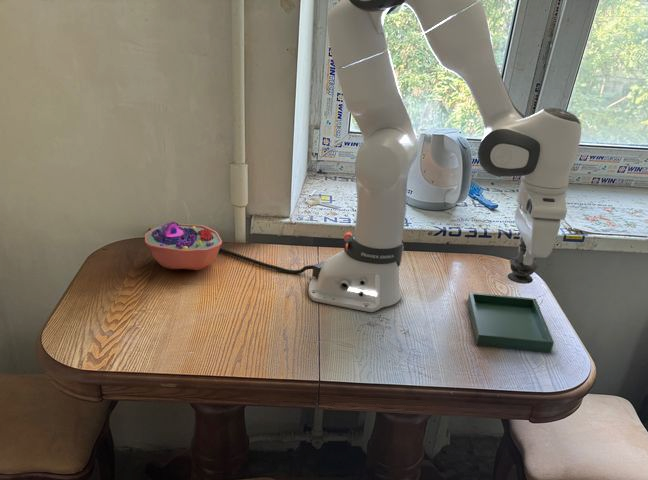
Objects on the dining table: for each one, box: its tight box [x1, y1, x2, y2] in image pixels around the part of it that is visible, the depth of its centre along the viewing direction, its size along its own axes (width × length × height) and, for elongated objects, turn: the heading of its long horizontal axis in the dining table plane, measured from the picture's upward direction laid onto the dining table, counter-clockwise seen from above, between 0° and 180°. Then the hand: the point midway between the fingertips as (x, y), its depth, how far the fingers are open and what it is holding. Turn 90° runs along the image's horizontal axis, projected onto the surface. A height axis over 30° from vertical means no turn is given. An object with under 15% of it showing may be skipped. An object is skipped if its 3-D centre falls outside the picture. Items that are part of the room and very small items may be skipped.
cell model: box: [144, 221, 223, 271], centre depth 151 cm, size 17×20×11 cm
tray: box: [466, 292, 555, 353], centre depth 135 cm, size 16×20×3 cm
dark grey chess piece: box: [507, 240, 539, 285], centre depth 127 cm, size 6×6×12 cm
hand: (524, 259), depth 127 cm, fingers closed on dark grey chess piece, 3 cm apart
